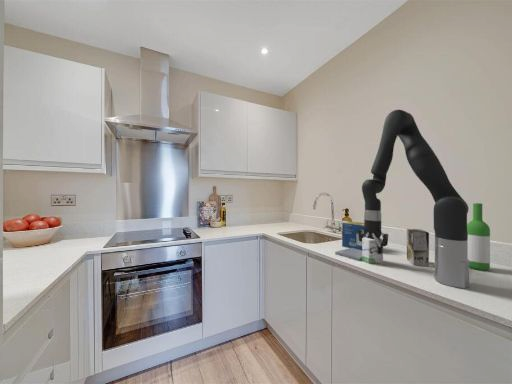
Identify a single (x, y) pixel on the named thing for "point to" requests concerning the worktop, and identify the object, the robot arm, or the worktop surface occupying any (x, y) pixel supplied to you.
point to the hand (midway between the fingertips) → (372, 252)
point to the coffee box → (418, 247)
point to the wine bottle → (478, 241)
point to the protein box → (352, 234)
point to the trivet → (351, 253)
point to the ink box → (371, 251)
